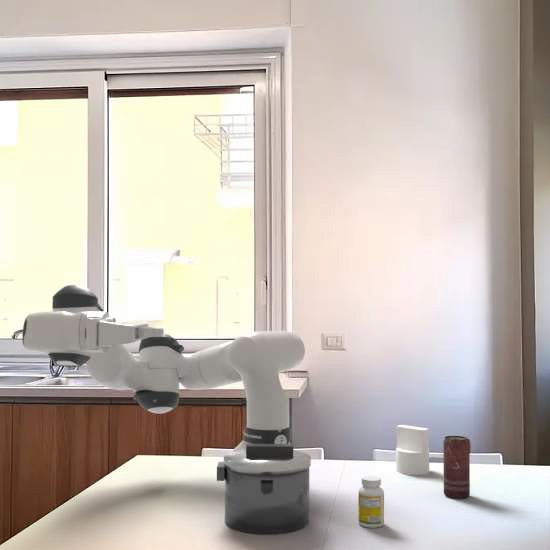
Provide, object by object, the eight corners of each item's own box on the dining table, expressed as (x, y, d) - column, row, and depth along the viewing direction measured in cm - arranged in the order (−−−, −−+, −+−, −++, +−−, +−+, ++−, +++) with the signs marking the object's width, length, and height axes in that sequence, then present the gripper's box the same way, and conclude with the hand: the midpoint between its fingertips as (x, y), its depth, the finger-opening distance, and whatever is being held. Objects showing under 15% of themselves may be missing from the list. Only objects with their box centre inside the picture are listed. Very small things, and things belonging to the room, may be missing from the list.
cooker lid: (220, 474, 142) (220, 454, 143) (226, 454, 161) (226, 436, 161) (313, 474, 143) (313, 454, 143) (308, 454, 161) (308, 437, 161)
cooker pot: (212, 538, 140) (213, 477, 140) (221, 504, 163) (221, 452, 163) (312, 539, 140) (312, 478, 140) (306, 505, 163) (306, 452, 164)
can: (471, 500, 168) (471, 440, 168) (444, 498, 169) (443, 439, 169) (470, 493, 174) (469, 435, 174) (443, 491, 175) (443, 434, 175)
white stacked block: (435, 471, 196) (435, 427, 197) (416, 476, 190) (416, 431, 190) (408, 465, 203) (408, 423, 203) (389, 471, 196) (389, 427, 197)
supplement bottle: (375, 530, 145) (374, 482, 146) (353, 524, 149) (353, 478, 149) (389, 523, 150) (388, 477, 150) (367, 518, 153) (367, 473, 153)
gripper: (109, 343, 163) (169, 344, 163) (85, 349, 142) (154, 350, 143) (109, 316, 163) (169, 316, 163) (86, 318, 143) (155, 318, 143)
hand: (162, 332), depth 153 cm, fingers closed
